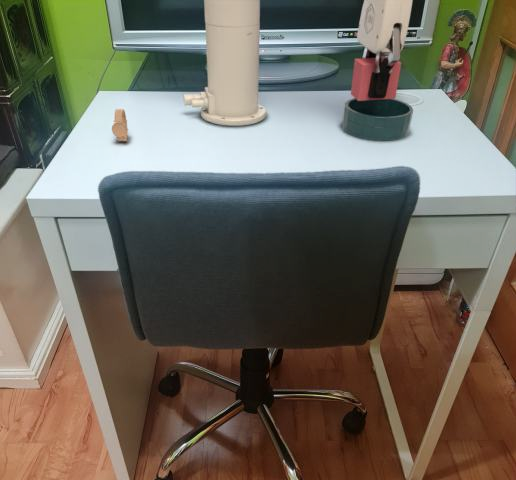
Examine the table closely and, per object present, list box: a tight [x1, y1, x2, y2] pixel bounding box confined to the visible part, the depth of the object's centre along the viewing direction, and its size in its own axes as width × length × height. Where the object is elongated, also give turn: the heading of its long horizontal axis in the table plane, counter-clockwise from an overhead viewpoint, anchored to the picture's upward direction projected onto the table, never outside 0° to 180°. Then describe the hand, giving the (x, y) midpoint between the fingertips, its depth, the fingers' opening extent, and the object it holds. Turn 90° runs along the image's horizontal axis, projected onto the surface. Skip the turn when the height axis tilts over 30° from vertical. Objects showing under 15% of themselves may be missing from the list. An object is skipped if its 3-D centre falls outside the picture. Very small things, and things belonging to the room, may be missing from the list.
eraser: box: [350, 57, 402, 101], centre depth 89 cm, size 7×4×6 cm, turn 102°
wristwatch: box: [111, 108, 129, 142], centre depth 86 cm, size 3×5×5 cm, turn 4°
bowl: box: [341, 97, 414, 142], centre depth 94 cm, size 12×12×4 cm
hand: (371, 92), depth 91 cm, fingers closed on eraser, 4 cm apart
